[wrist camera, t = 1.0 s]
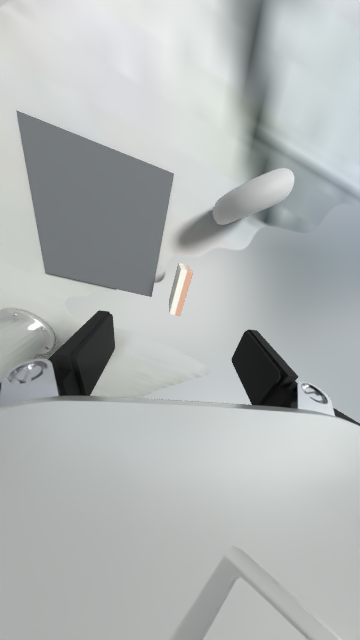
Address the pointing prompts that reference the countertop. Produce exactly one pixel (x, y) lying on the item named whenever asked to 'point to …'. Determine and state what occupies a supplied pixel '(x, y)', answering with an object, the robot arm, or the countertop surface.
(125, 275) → the mat
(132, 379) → the countertop surface
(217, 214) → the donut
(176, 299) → the tile
